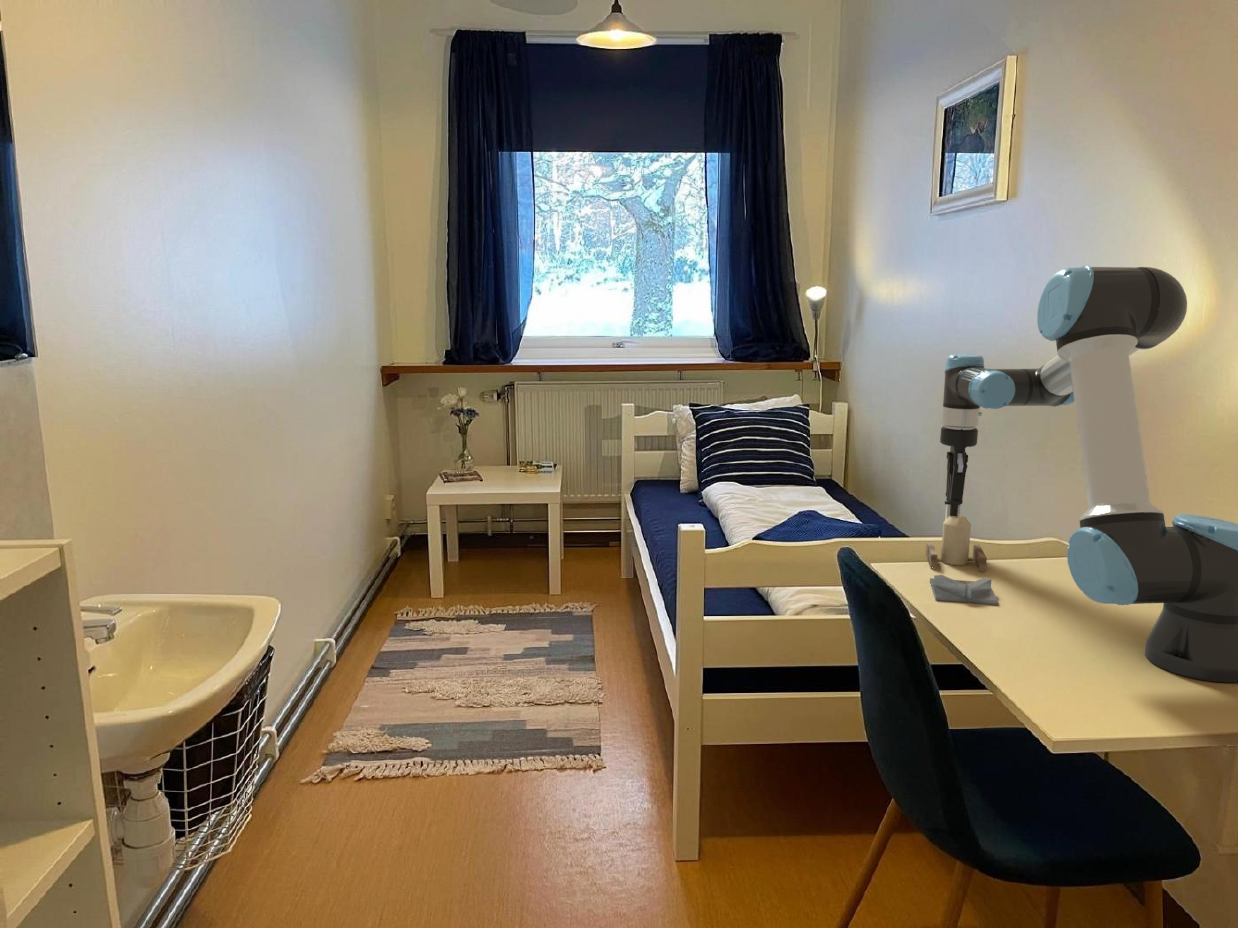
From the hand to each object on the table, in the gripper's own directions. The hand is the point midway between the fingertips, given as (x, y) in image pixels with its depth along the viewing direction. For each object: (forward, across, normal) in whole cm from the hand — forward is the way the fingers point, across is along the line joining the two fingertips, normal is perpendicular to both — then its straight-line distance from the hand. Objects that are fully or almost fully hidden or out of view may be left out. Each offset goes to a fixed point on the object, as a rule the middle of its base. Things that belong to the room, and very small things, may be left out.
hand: (951, 532), depth 207 cm
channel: (+5, -8, 0) cm, 9 cm away
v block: (+4, -29, +1) cm, 30 cm away
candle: (+5, -7, 0) cm, 9 cm away
